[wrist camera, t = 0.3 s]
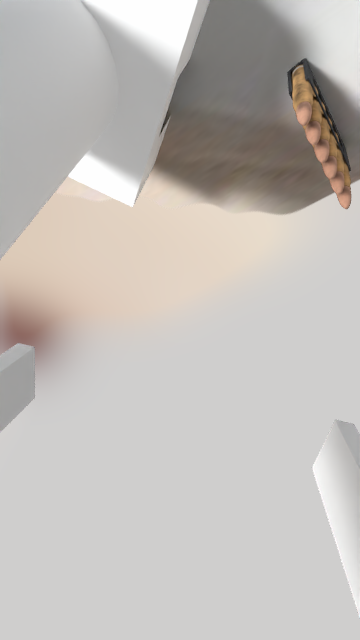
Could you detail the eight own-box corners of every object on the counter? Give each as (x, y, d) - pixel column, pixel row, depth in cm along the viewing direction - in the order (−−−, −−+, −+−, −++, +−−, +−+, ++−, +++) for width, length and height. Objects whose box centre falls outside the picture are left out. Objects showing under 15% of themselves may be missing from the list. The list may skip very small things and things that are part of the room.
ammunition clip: (346, 150, 35) (361, 210, 28) (329, 160, 36) (340, 220, 29) (305, 57, 29) (311, 104, 22) (287, 72, 30) (287, 121, 23)
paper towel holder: (220, -32, 26) (89, 94, 9) (154, 164, 41) (57, 356, 23) (-4, -184, 22) (-1028, -504, 5) (12, 92, 37) (-227, 255, 20)
